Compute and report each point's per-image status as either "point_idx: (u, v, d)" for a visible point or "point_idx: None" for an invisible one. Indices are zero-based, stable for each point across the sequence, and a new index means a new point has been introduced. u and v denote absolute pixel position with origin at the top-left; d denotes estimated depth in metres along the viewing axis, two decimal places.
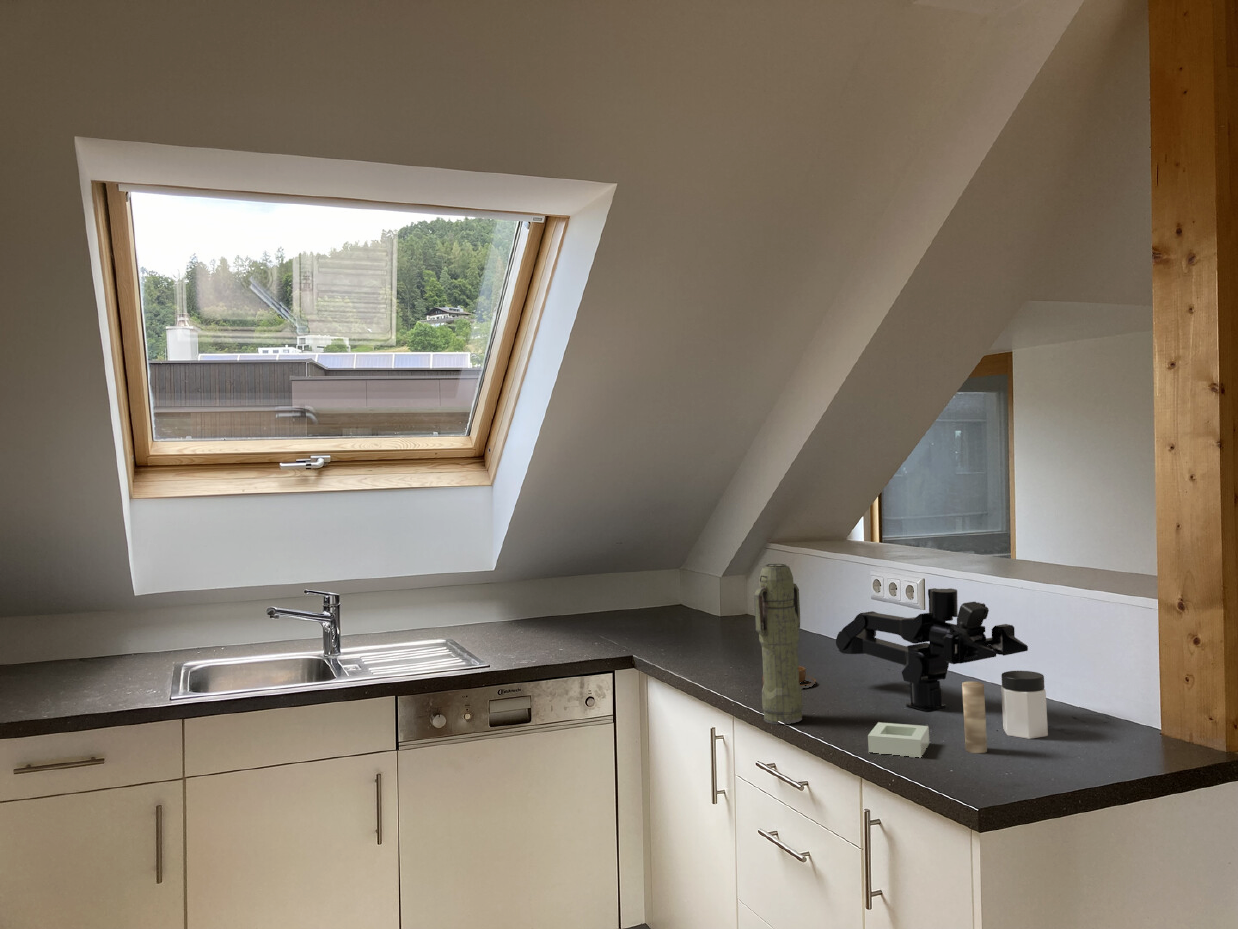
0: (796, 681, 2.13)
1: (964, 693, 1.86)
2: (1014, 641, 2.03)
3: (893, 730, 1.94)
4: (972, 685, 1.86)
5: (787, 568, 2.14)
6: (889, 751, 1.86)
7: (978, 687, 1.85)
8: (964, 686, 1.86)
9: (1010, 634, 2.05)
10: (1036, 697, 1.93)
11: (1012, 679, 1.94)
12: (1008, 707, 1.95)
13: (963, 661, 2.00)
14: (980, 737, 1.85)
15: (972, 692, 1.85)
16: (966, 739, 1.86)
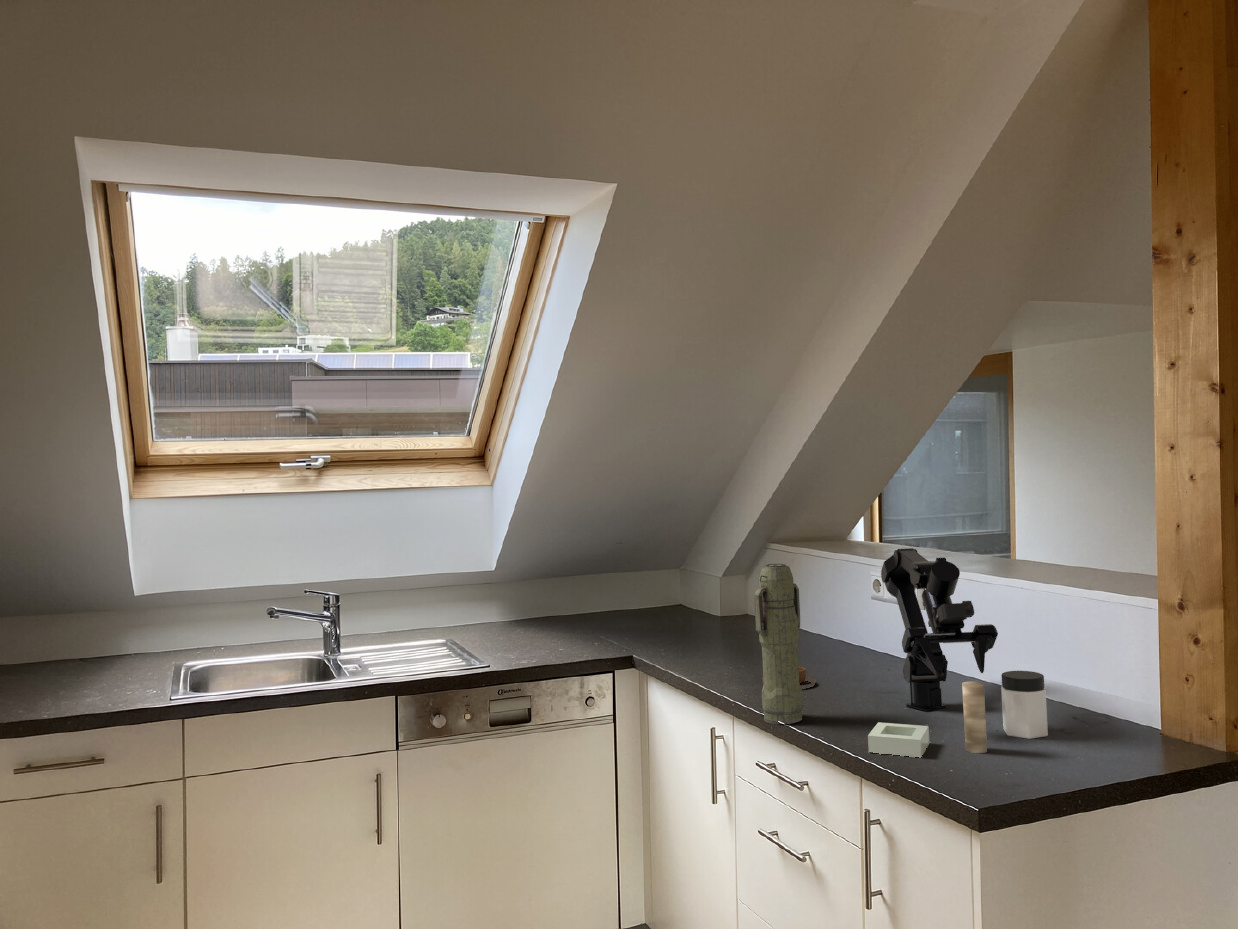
0: (796, 681, 2.13)
1: (964, 693, 1.86)
2: (979, 656, 1.96)
3: (893, 730, 1.94)
4: (972, 685, 1.86)
5: (787, 568, 2.14)
6: (889, 751, 1.86)
7: (978, 687, 1.85)
8: (964, 686, 1.86)
9: (983, 644, 1.97)
10: (1036, 697, 1.93)
11: (1012, 679, 1.94)
12: (1008, 707, 1.95)
13: (915, 655, 2.01)
14: (980, 737, 1.85)
15: (972, 692, 1.85)
16: (966, 739, 1.86)
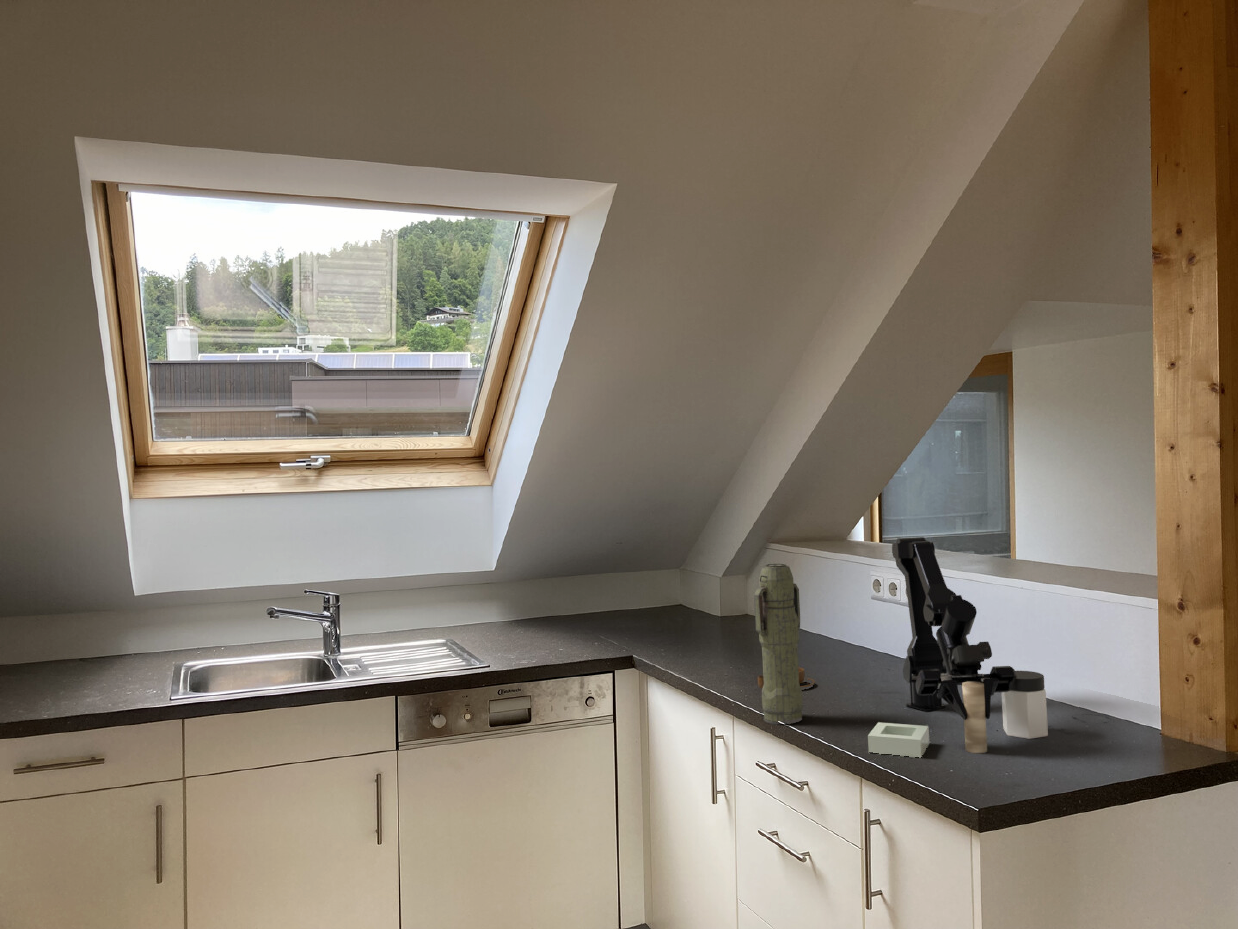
0: (796, 681, 2.13)
1: (964, 693, 1.86)
2: None
3: (893, 730, 1.94)
4: (972, 685, 1.86)
5: (787, 568, 2.14)
6: (889, 751, 1.86)
7: (978, 687, 1.85)
8: (964, 686, 1.86)
9: (989, 687, 1.88)
10: (1036, 697, 1.93)
11: None
12: (1008, 707, 1.95)
13: (942, 697, 1.92)
14: (980, 737, 1.85)
15: (972, 692, 1.85)
16: (966, 739, 1.86)
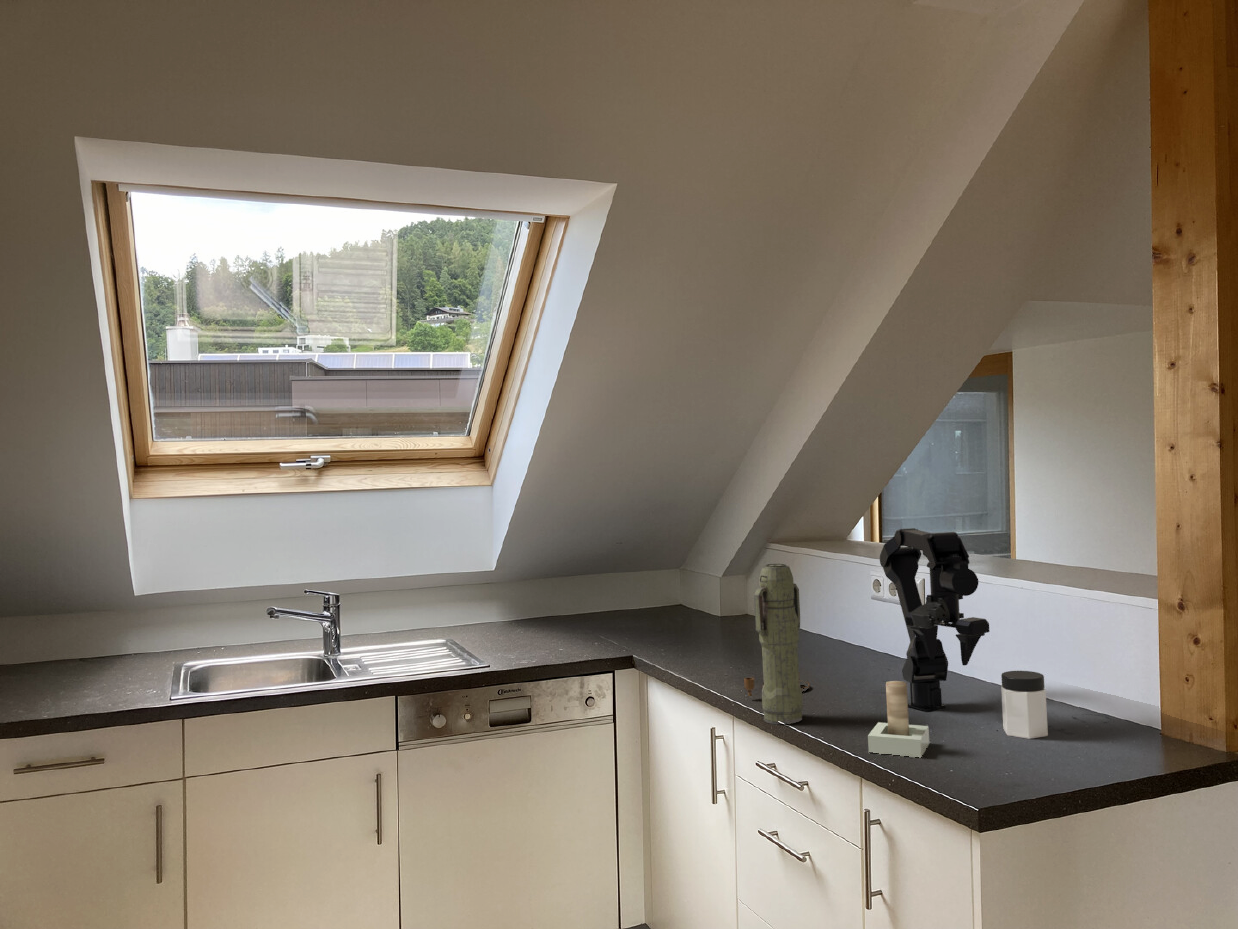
0: (796, 681, 2.13)
1: (886, 691, 1.91)
2: None
3: None
4: (892, 684, 1.90)
5: (787, 568, 2.14)
6: (889, 751, 1.86)
7: (896, 687, 1.89)
8: (886, 684, 1.91)
9: (963, 641, 2.01)
10: (1036, 697, 1.93)
11: (1012, 679, 1.94)
12: (1008, 707, 1.95)
13: None
14: None
15: (890, 691, 1.89)
16: None
